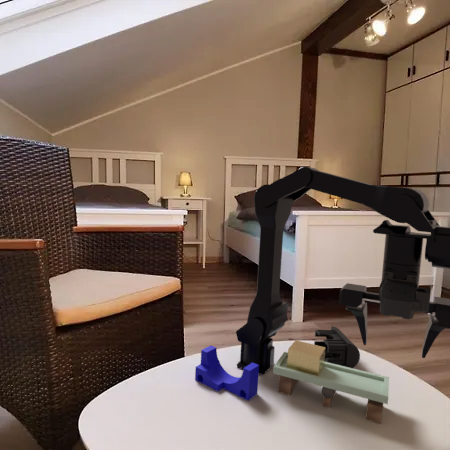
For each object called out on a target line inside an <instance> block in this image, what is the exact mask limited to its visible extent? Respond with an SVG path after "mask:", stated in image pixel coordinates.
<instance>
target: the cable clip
mask: <svg viewBox="0 0 450 450" xmlns="http://www.w3.org/2000/svg"><path fill="white" fill-rule="evenodd" d="M194 373H195V374H194V375H195V376H194V380H195V381H196V382H197V383H200V384H202V385H204V386H206V387H208V388H210V389H212V390H214V391H216V392H220V391H222V390H225V391H227V392H230V393H231V394H234V395H235V396H237V397H239V398H242V399H244V400H245V401H250V400H252V399H253V398H254V397H256V396H257V395H258V388H259V375H260V373H259V365H258V364H255V363H253V362H252V363H251V364H249V365H248V366H246V367H244V368H242V374H241V376H240V377H236V376H233V375H232V374H230V373H228V372H227V371H226V370H225V369H224V367H223V366H222V364H221V363H220V360H219V358H218V351H217V347H216V346H213V345H209V346H207V347H205V348H202V349H201V352H200V364H198V365H196V366H195V372H194Z"/></svg>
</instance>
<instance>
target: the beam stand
mask: <svg viewBox="0 0 450 450" xmlns="http://www.w3.org/2000/svg"><path fill="white" fill-rule="evenodd" d="M299 381H300V380H296V379H292V378H289V377H285V376H281V375H278V388H277V392H278V393H281V394H283V395H286V396H291V395H292V393H293V392H294V390H295V388H296V387H297V385H298V383H299ZM320 392H321V395H322V397H323V398H322V399H323V400H322V407H325V408H328V409H330V407H331V406H332V403H333V400H334V398H335V395H336V393H337V391H336V390H333V389H329V388H326V387H322V388H321V391H320ZM383 409H384V403H381V402H378V401H374V400H370V399H367V402H366V412H365V413H366V415H365V420H366V421H369V422H370V421H371V422H373V423H376V424H380V425H381V424H382V423H381V422H382V419H383V418H382V417H383Z"/></svg>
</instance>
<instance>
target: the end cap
mask: <svg viewBox="0 0 450 450" xmlns="http://www.w3.org/2000/svg"><path fill="white" fill-rule="evenodd" d="M314 337H317V338H318V337H319V338H320V337H321V338H325V339H323V340H314V343H313V345H317V346H322V347H326V349H325V360H324V362H328V363H332V364H337V365H341V366H345V367H349V368H353V369H355V367H356V366H358V364H359V362H360V359H361V352H360V351H359V349H358V347H357V346H356V345H355V344H354V343H353V341H351V339H350V338H348V337H347V335H346V334H344V332H343V331H342V330H340V328H338V327H336V326H333V325H331V327H330V329H315V331H314Z"/></svg>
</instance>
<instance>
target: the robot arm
mask: <svg viewBox="0 0 450 450" xmlns="http://www.w3.org/2000/svg"><path fill="white" fill-rule="evenodd" d="M311 190H313V191H316V192H321V193H324V194H327V195H330V196H334V197H337V198H341V199H344V200H346V201H347V200H348V201H350V202H354V203H358V204H360V205H364V206H365V207H368V209H369V208H370V209H371V210H373V211H374V212H375V213H377V214H379V215H382V216H383V217H384V218H386V220H385V219H384V220H383V221H382V222H381V223H380V225H378V226H377V227H375V228H374V229H373V230H372V233H374V234H378V235H385V238H384V249H383V261H382V263H383V264H382V272H381V281H380V284H379V287H378V288H379V289H378V292H371V291H367V286H366V285H361V284H354V283H349V282H347V283H345V284H344V285H343V286H342V288H340V289H339V290H340V291H339V295H338V304H339V305H340V306H345V310H347V311H349V312H352V315H354V317H355V320H356V322H357V325H358V328H359V329H358V330H359V333H360V336H361V340H362V343H363V346H367V342H368V304H371V305H372V304H373V305H379V313H381V315H383V316H387V317H389V316H393V317H399V318H402V319H404V320H411V319H413V318H414V315H415V312H418V313H424V314H429V318H428V322H427V326H426V331H425V334H424V339H423V343H422V347H421V358H422V359H425V358H426V356H427V355H428V353H429V352H430V349H431V347H432V345H433V344H434V342H435V340H436V339H437V338H438V336H439V335H440V333H441V332H443V331H444V330H446V329H447V330H450V298H446V297H441V296H440V297H439V296H434V298H433V301H430V300H431V288H427V287H426V288H425V287H420V286H419V285H420V277H421V276H420V275H421V266H422V265H421V264H422V255H423V245H424V239H426V243H425V250H424V258H425V260H427V262H428V263H431V266H432V268H437V269H438V268H439V269H445V270H450V226H443V225H442V226H440V224H439V223H438V221H437V219H435V217H434V216H433V214H432V213H431V211H430V210H429V207H430V204H429V198H428V197H427V195H426V194H425V192H423V191H422V190H420V189H417V188H412V187H411V188H410V187H404V186H403V187H399V186H389V185H377V184H371V183H368V182H364V181H359V180H356V179H352V178H349V177H345V176H340V175H337V174H333V173H329V172H325V171H321V170H318V169H317V168H315V167H309V166H301V167H300V168H298V169H296V170H295V171H293V172H291V173H290V174H287V175H286V176H284V177H281V178H279V179H277V180H274V181H273V182H272V183H269V184H263V185H260V187H258V189H257V190H255V192H254V196H253V203H254V204H253V205H254V214H255V216H256V219H257V223H258V224H259V228H260V229H259V231H260V232H259V248H258V262H257V263H258V265H257V266H258V267H257V281H256V282H257V283H256V284H257V285H256V294H255V296H254V299H253V301H252V302H251V305H250V307H249V311H248V316H247V319H246V323H245V324H244V325H242V326H241V327H239V329H237V330H236V331H235V333H236V339H237V341H238V342H239V343H240V357H239V361H238V362H237V364H236V367H237V368H240V369H243V368H244V367H246V366H248V365H249V364H251V363H252V362H253V363H255V364H258V365H259V375H265V374H266V373H267V372H268V371H269V369H271V368H272V366H273V365H275V364H274V363H275V348H276V347H275V345H274V346H273V344H274V343H273V342H274V341H273V340H274V339H273V337H275V336H276V335H277V334H278V333H277V332H278V331H280V330H281V329H283V328H284V326H285V324H286V322H288V321H289V318H288V309H289V303H288V302H285V301H283V299H282V298H281V295H280V287H281V273H282V271H281V270H282V258H283V257H282V255H283V240H284V230H285V229H284V228H285V225H286V224H287V222H288V220H289V218H290V216H291V212H292V207H293V205H294V204H293V203H294V202H296V201H297V200H299V199H301V198H302V197H303V196H304V195H305V194H307V193H308V192H310V191H311ZM389 220H391V221H393V222H396V223H399V224H407V225H398V224H392V223H391V222H390V221H389ZM411 228H413V229H414V230H415V232H414V231H411V230H412V229H411ZM416 231H417V232H416ZM421 232H422V233H421Z"/></svg>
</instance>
